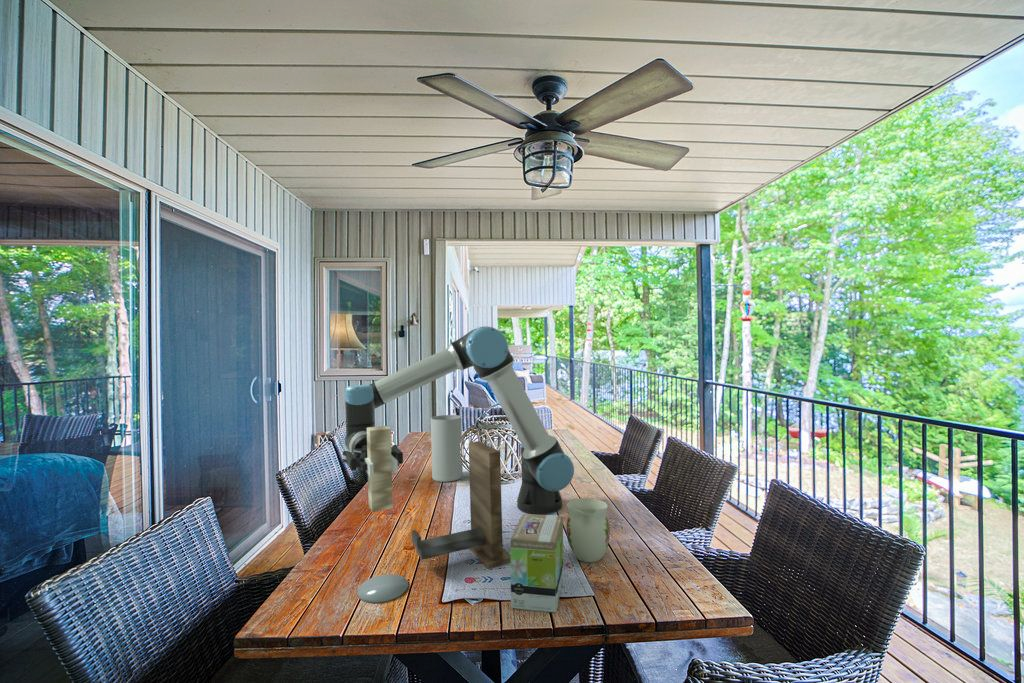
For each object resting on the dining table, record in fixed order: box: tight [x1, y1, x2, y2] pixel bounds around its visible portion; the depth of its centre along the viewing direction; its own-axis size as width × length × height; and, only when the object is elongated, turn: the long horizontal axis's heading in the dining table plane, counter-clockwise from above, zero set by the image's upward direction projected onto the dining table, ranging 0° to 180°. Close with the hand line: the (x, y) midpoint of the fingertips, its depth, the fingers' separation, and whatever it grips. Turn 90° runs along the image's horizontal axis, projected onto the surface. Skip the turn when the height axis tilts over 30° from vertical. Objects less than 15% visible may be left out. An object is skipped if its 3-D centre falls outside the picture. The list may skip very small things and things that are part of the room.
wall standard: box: [411, 441, 511, 570], centre depth 118 cm, size 23×16×28 cm
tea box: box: [510, 513, 564, 613], centre depth 102 cm, size 15×10×15 cm, turn 168°
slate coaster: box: [357, 573, 409, 604], centre depth 105 cm, size 11×11×1 cm
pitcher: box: [565, 497, 611, 563], centre depth 119 cm, size 11×18×14 cm, turn 174°
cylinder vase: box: [430, 414, 464, 483], centre depth 190 cm, size 12×12×25 cm
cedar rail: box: [367, 425, 394, 513], centre depth 105 cm, size 4×4×18 cm
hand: (384, 468), depth 100 cm, fingers closed on cedar rail, 4 cm apart
